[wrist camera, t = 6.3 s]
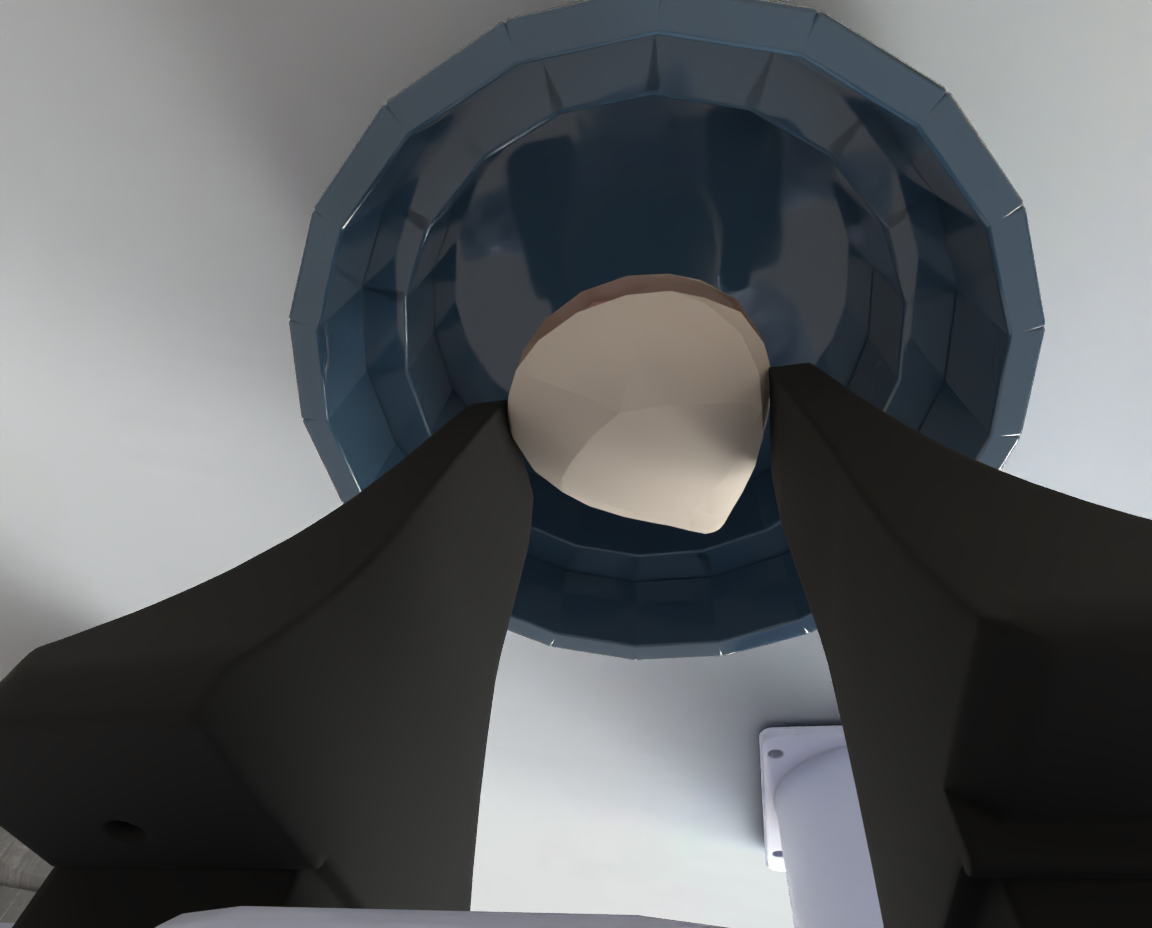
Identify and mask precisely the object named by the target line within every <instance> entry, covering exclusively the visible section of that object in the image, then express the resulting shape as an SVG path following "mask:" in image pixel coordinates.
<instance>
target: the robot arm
mask: <svg viewBox="0 0 1152 928" xmlns="http://www.w3.org/2000/svg"><path fill="white" fill-rule="evenodd" d="M769 383H770V392H769V402H770V441H771V475H772V480H773V485H774V490H775V496H776V501H777V506H778V511H779V515H780V520H781V525H782V528H783V531H784V534H785V537H786V540H787V543H788V546H789V549H790V552H791V555H792V557H793V560H794V563H795V566H796V569H797V572H798V575H799V578H800V581H801V583H802V586H803V589H804V592H805V595H806V598H807V601H808V604H809V606H810V609H811V612H812V615H813V618H814V621H815V624H816V627H817V629H818V632H819V635H820V638H821V642H822V645H823V648H824V652H825V655H826V659H827V662H828V666H829V670H830V674H831V678H832V683H833V687H834V692H835V696H836V700H837V705H838V709H839V713H840V718H841V722H842V725H834V726H798V727H771V728H767V729H764V730H763V731H762V732H761V733H760V735H759V747H760V766H761V785H762V804H763V823H764V842H765V858H766V865H767V867H768V868H770V869H771V870H774V871H786V876H787V883H788V889H789V895H790V902H791V908H792V914H793V920H794V927H795V928H1152V520H1150V519H1146V518H1142V517H1138V516H1134V515H1131V514H1128V513H1124V512H1121V511H1117V510H1114V509H1110V508H1107V507H1104V506H1100V505H1097V504H1093V503H1090V502H1087V501H1084V500H1081V499H1078V498H1075V497H1072V496H1069V495H1066V494H1063V493H1060V492H1057V491H1054V490H1051V489H1048V488H1046V487H1043V486H1040V485H1037V484H1034V483H1031V482H1028V481H1026V480H1023V479H1021V478H1018V477H1015V476H1013V475H1010V474H1007V473H1005V472H1002V471H1000V470H998V469H996V468H993V467H991V466H989V465H986V464H984V463H982V462H979V461H977V460H975V459H972V458H970V457H968V456H965V455H963V454H961V453H959V452H957V451H955V450H953V449H950V448H948V447H946V446H944V445H942V444H940V443H938V442H936V441H935V440H933V439H931V438H929V437H927V436H925V435H923V434H922V433H920V432H918V431H916V430H914V429H912V428H910V427H909V426H907V425H905V424H903V423H902V422H900V421H898V420H897V419H895V418H893V417H891V416H890V415H888V414H887V413H885V412H883V411H882V410H880V409H878V408H877V407H875V406H874V405H872V404H871V403H869V402H867V401H866V400H864V399H863V398H861V397H860V396H858V395H857V394H855V393H854V392H852V391H851V390H849V389H848V388H847V387H845V386H844V385H842V384H841V383H839V382H838V381H836V380H835V379H834V378H832V377H831V376H829V375H828V374H826V373H825V372H823V371H822V370H821V369H819V368H818V367H816V366H814V365H813V364H811V363H801V364H793V365H785V366H777V367H769ZM507 414H508V402H507V400H501V401H492V402H484V403H476V404H472V405H470V406H469V407H467V408H465V409H464V410H463V411H461V412H460V413H459V414H457V415H456V416H455V417H453V418H452V419H451V420H450V421H448V422H447V423H446V424H445V425H444V426H442V427H441V428H440V429H439V430H438V431H436V432H435V433H434V434H433V435H432V436H430V437H429V438H428V439H427V440H426V441H424V442H423V443H422V444H421V445H420V446H418V447H417V448H416V449H415V450H414V451H412V452H411V453H410V454H409V455H408V456H406V457H405V458H404V459H403V460H402V461H400V462H399V463H398V464H397V465H395V466H394V467H393V468H391V469H390V470H389V471H387V472H386V473H385V474H383V475H382V476H381V477H380V478H378V479H377V480H376V481H374V482H373V483H372V484H370V485H369V486H368V487H366V488H365V489H364V490H362V491H361V492H360V493H359V494H357V495H356V496H355V497H353V498H352V499H350V500H349V501H347V502H346V503H345V504H343V505H342V506H340V507H339V508H337V509H336V510H334V511H333V512H331V513H330V514H328V515H327V516H325V517H323V518H322V519H320V520H319V521H317V522H315V523H314V524H312V525H311V526H309V527H307V528H306V529H304V530H303V531H301V532H299V533H298V534H296V535H294V536H293V537H291V538H289V539H287V540H285V541H284V542H282V543H280V544H278V545H276V546H274V547H272V548H270V549H269V550H267V551H265V552H263V553H261V554H259V555H257V556H255V557H254V558H252V559H250V560H248V561H246V562H244V563H242V564H241V565H239V566H237V567H235V568H233V569H231V570H229V571H227V572H225V573H223V574H221V575H219V576H216V577H214V578H212V579H210V580H208V581H206V582H204V583H201V584H199V585H197V586H195V587H193V588H191V589H188V590H186V591H184V592H181V593H179V594H177V595H174V596H172V597H170V598H168V599H165V600H163V601H161V602H158V603H156V604H153V605H151V606H149V607H146V608H144V609H141V610H139V611H136V612H134V613H131V614H129V615H126V616H123V617H120V618H118V619H115V620H112V621H110V622H107V623H104V624H102V625H99V626H96V627H93V628H91V629H88V630H85V631H83V632H80V633H77V634H75V635H72V636H69V637H66V638H64V639H61V640H58V641H55V642H52V643H49V644H46V645H44V646H41V647H38V648H36V649H35V650H33V651H32V652H31V653H29V654H28V655H27V656H26V657H25V658H24V659H23V660H22V661H21V662H20V663H19V664H18V665H17V666H16V667H15V668H14V669H13V670H12V671H11V672H10V673H9V674H8V675H7V676H6V677H5V678H4V679H3V680H2V681H1V682H0V826H1V827H2V828H3V829H5V830H6V831H7V832H8V833H10V834H11V835H12V836H14V837H15V838H16V839H17V840H19V841H20V842H21V843H23V844H24V845H25V846H27V847H28V848H29V849H30V850H32V851H33V852H34V853H36V854H37V855H38V856H39V857H41V858H42V859H43V860H45V861H46V862H47V863H48V864H50V865H51V866H54V868H53V869H52V871H51V872H50V873H49V875H48V876H47V878H46V879H45V881H44V882H43V884H42V885H41V886H40V888H39V889H38V891H37V892H36V894H35V895H34V896H33V898H32V899H31V901H30V902H29V904H28V905H27V907H26V908H25V909H24V911H23V912H22V914H21V915H20V917H19V918H18V919H17V921H16V922H15V923H0V928H727V927H719V926H712V925H705V924H698V923H690V922H683V921H676V920H668V919H661V918H654V917H646V916H639V915H608V914H565V913H522V912H479V911H470V905H471V891H472V877H473V865H474V855H475V844H476V834H477V824H478V813H479V803H480V793H481V785H482V777H483V768H484V760H485V752H486V743H487V735H488V728H489V721H490V714H491V707H492V700H493V693H494V686H495V680H496V675H497V670H498V665H499V660H500V656H501V651H502V648H503V644H504V640H505V636H506V632H507V628H508V625H509V621H510V617H511V613H512V609H513V605H514V602H515V598H516V594H517V590H518V586H519V582H520V578H521V574H522V571H523V567H524V563H525V559H526V554H527V550H528V546H529V539H530V530H531V521H532V510H533V499H534V496H533V492H532V488H531V485H530V481H529V478H528V474H527V470H526V467H525V463H524V460H523V456H522V452H521V450H520V448H519V447H518V445H517V444H516V442H515V440H514V439H513V437H512V434H511V432H510V427H509V421H508V415H507Z"/></svg>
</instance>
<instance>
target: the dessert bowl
mask: <svg viewBox="0 0 1152 928" xmlns="http://www.w3.org/2000/svg"><path fill="white" fill-rule="evenodd" d="M652 274H673V275H678V276H683V277H688V278H693V279H698V280H702V281H704V282H706V283H708V284H709V285H711V286H713V287H715V288H717V289H718V290H720V291H722V292H724V293H726V294H728V295H729V296H731V297H733V298H735V299H737V300H738V302H739V303H740V305H741V306H742V308H743V309H744V311H745V312H746V314H747V315H748V316H749V318H750V319H751V321H752V322H753V324H754V325H755V327H756V328H757V330H758V331H759V332H760V334H761V337H762V340H763V343H764V345H765V349H766V352H767V356H768V360H769V363H770V367H777V366H785V365H793V364H801V363H811V364H813V365H814V366H816V367H818V368H819V369H821V370H822V371H823V372H825V373H826V374H828V375H829V376H831V377H832V378H834V379H835V380H836V381H838V382H839V383H841V384H842V385H844V386H845V387H847V388H848V389H849V390H851V391H852V392H854V393H855V394H857V395H858V396H860V397H861V398H863V399H864V400H866V401H867V402H869V403H871V404H872V405H874V406H875V407H877V408H878V409H880V410H882V411H883V412H885V413H887V414H888V415H890V416H891V417H893V418H895V419H897V420H898V421H900V422H902V423H903V424H905V425H907V426H909V427H910V428H912V429H914V430H916V431H918V432H920V433H922V434H923V435H925V436H927V437H929V438H931V439H933V440H935V441H936V442H938V443H940V444H942V445H944V446H946V447H948V448H950V449H953V450H955V451H957V452H959V453H961V454H963V455H965V456H968V457H970V458H972V459H975V460H977V461H979V462H982V463H984V464H986V465H989V466H991V467H993V468H996V469H998V470H1000V469H1001V468H1002V466H1003V464H1004V463H1005V461H1006V459H1007V458H1008V456H1009V455H1010V453H1011V451H1012V450H1013V448H1014V447H1015V445H1016V443H1017V442H1018V440H1019V437H1020V436H1019V435H1021V433H1022V430H1023V425H1024V421H1025V416H1026V412H1027V407H1028V403H1029V398H1030V394H1031V389H1032V385H1033V380H1034V376H1035V371H1036V367H1037V362H1038V358H1039V353H1040V349H1041V344H1042V340H1043V336H1044V331H1045V329H1044V325H1045V319H1044V313H1043V307H1042V302H1041V296H1040V290H1039V284H1038V278H1037V272H1036V266H1035V261H1034V255H1033V249H1032V243H1031V237H1030V231H1029V225H1028V220H1027V214H1026V208H1025V207H1024V206H1023V201H1022V199H1021V197H1020V196H1019V194H1018V193H1017V191H1016V190H1015V188H1014V187H1013V185H1012V184H1011V182H1010V181H1009V179H1008V178H1007V176H1006V175H1005V173H1004V172H1003V170H1002V169H1001V167H1000V166H999V164H998V163H997V161H996V160H995V158H994V157H993V155H992V154H991V152H990V151H989V149H988V148H987V146H986V145H985V143H984V142H983V140H982V139H981V137H980V136H979V135H978V133H977V132H976V130H975V129H974V127H973V126H972V124H971V123H970V121H969V120H968V118H967V117H966V115H965V114H964V112H963V111H962V109H961V108H960V106H959V105H958V103H957V102H956V100H955V99H954V97H953V96H952V94H951V93H949V92H946V89H945V87H944V86H942V85H940V84H939V83H937V82H936V81H934V80H932V79H931V78H929V77H928V76H926V75H924V74H923V73H921V72H920V71H918V70H916V69H915V68H913V67H912V66H910V65H908V64H907V63H905V62H904V61H902V60H900V59H899V58H897V57H896V56H894V55H892V54H891V53H889V52H888V51H886V50H884V49H883V48H881V47H880V46H878V45H876V44H875V43H873V42H872V41H870V40H868V39H867V38H865V37H864V36H862V35H860V34H859V33H857V32H856V31H854V30H852V29H851V28H849V27H848V26H846V25H844V24H843V23H841V22H840V21H838V20H836V19H835V18H833V17H832V16H830V15H828V14H827V13H825V12H824V11H817V10H816V9H815V8H812V7H806V6H800V5H793V4H787V3H781V2H774V1H768V0H585V1H581V2H577V3H572V4H568V5H564V6H559V7H555V8H551V9H546V10H542V11H538V12H534V13H529V14H525V15H521V16H516V17H512V18H508V19H507V20H506V22H500V23H498V24H497V25H495V26H494V27H492V28H491V29H489V30H488V31H486V32H485V33H484V34H482V35H481V36H479V37H478V38H476V39H475V40H473V41H472V42H471V43H469V44H468V45H466V46H465V47H463V48H462V49H460V50H459V51H458V52H456V53H455V54H453V55H452V56H450V57H449V58H447V59H446V60H445V61H443V62H442V63H440V64H439V65H437V66H436V67H434V68H433V69H432V70H430V71H429V72H427V73H426V74H424V75H423V76H421V77H420V78H419V79H417V80H416V81H414V82H413V83H411V84H410V85H408V86H407V87H406V88H404V89H403V90H401V91H400V92H398V93H397V94H395V95H394V96H393V97H391V98H390V99H388V100H387V102H386V104H385V105H383V106H381V108H380V109H379V111H378V112H377V114H376V115H375V117H374V118H373V120H372V121H371V123H370V124H369V126H368V127H367V129H366V130H365V132H364V133H363V135H362V136H361V138H360V139H359V141H358V142H357V144H356V145H355V147H354V148H353V150H352V151H351V153H350V154H349V156H348V157H347V159H346V160H345V162H344V163H343V165H342V166H341V168H340V169H339V171H338V172H337V174H336V175H335V177H334V178H333V180H332V181H331V183H330V184H329V186H328V187H327V189H326V190H325V192H324V193H323V195H322V196H321V198H320V199H319V201H318V202H317V204H316V205H315V210H314V211H313V212H312V215H311V220H310V224H309V229H308V233H307V238H306V243H305V247H304V252H303V256H302V261H301V265H300V270H299V274H298V279H297V283H296V288H295V292H294V297H293V301H292V306H291V310H290V315H289V318H290V321H289V325H290V333H291V340H292V348H293V355H294V363H295V370H296V378H297V385H298V393H299V400H300V408H301V415H302V418H304V419H303V422H304V424H305V426H306V428H307V431H308V433H309V435H310V437H311V439H312V441H313V443H314V445H315V447H316V449H317V451H318V453H319V455H320V457H321V460H322V462H323V464H324V466H325V468H326V470H327V472H328V474H329V476H330V478H331V480H332V482H333V484H334V487H335V489H336V491H337V493H338V495H339V497H340V499H341V501H343V502H344V504H345V503H346V502H347V501H349V500H350V499H352V498H353V497H355V496H356V495H357V494H359V493H360V492H361V491H362V490H364V489H365V488H366V487H368V486H369V485H370V484H372V483H373V482H374V481H376V480H377V479H378V478H380V477H381V476H382V475H383V474H385V473H386V472H387V471H389V470H390V469H391V468H393V467H394V466H395V465H397V464H398V463H399V462H400V461H402V460H403V459H404V458H405V457H406V456H408V455H409V454H410V453H411V452H412V451H414V450H415V449H416V448H417V447H418V446H420V445H421V444H422V443H423V442H424V441H426V440H427V439H428V438H429V437H430V436H432V435H433V434H434V433H435V432H436V431H438V430H439V429H440V428H441V427H442V426H444V425H445V424H446V423H447V422H448V421H450V420H451V419H452V418H453V417H455V416H456V415H457V414H459V413H460V412H461V411H463V410H464V409H465V408H467V407H469V406H470V405H472V404H476V403H484V402H492V401H501V400H507V402H508V397H509V392H510V389H511V385H512V382H513V379H514V375H515V372H516V369H517V368H518V366H519V363H520V359H521V356H522V353H523V350H524V348H525V347H526V345H527V344H528V342H529V341H530V340H531V338H532V337H533V335H534V334H535V333H536V331H537V330H538V329H539V327H540V326H541V324H542V323H543V322H544V320H545V319H546V318H548V317H549V316H550V315H552V314H553V313H554V312H555V311H557V310H558V309H559V308H561V307H562V306H563V305H565V304H566V303H567V302H569V301H570V300H571V299H573V298H574V297H575V296H577V295H578V294H579V293H581V292H582V291H585V290H588V289H591V288H594V287H596V286H599V285H602V284H605V283H608V282H611V281H614V280H616V279H619V278H622V277H625V276H632V275H652ZM521 452H522V451H521ZM522 456H523V460H524V463H525V467H526V470H527V474H528V478H529V481H530V485H531V488H532V492H533V496H534V499H533V510H532V521H531V530H530V539H529V546H528V550H527V554H526V559H525V563H524V567H523V571H522V574H521V578H520V582H519V586H518V590H517V594H516V598H515V602H514V605H513V609H512V613H511V617H510V621H509V625H508V628H507V630H509V631H511V632H514V633H517V634H519V635H522V636H524V637H527V638H530V639H532V640H535V641H537V642H540V643H542V644H545V645H548V646H551V645H552V647H555V648H561V649H568V650H574V651H580V652H587V653H593V654H599V655H605V656H612V657H618V658H624V659H630V660H634V659H635V658H636V660H652V659H673V658H694V657H716V656H721V655H729V654H733V653H736V652H740V651H744V650H748V649H752V648H756V647H759V646H763V645H767V644H771V643H775V642H778V641H782V640H786V639H790V638H794V637H798V636H801V635H805V634H807V633H808V632H813V631H815V630H817V627H816V624H815V621H814V618H813V615H812V612H811V609H810V606H809V604H808V601H807V598H806V595H805V592H804V589H803V586H802V583H801V581H800V578H799V575H798V572H797V569H796V566H795V563H794V560H793V557H792V555H791V552H790V549H789V546H788V543H787V540H786V537H785V534H784V531H783V528H782V525H781V520H780V515H779V511H778V506H777V501H776V496H775V490H774V485H773V480H772V475H771V441H770V406H769V412H768V418H767V422H766V425H765V429H764V432H763V439H762V443H761V446H760V450H759V453H758V457H757V461H756V464H755V467H754V469H753V472H752V474H751V476H750V478H749V480H748V482H747V484H746V486H745V488H744V490H743V492H742V494H741V496H740V497H739V499H738V501H737V502H736V504H735V506H734V507H733V509H732V511H731V513H730V514H729V516H728V518H727V520H726V521H725V523H724V524H723V525H722V527H721V528H720V529H719V530H717V531H715V532H711V533H707V534H704V533H699V532H694V531H689V530H685V529H681V528H677V527H673V526H669V525H662V524H656V523H652V522H647V521H642V520H637V519H632V518H627V517H623V516H620V515H617V514H613V513H610V512H607V511H604V510H600V509H597V508H594V507H590V506H588V505H586V504H584V503H582V502H580V501H578V500H577V499H575V498H573V497H571V496H569V495H567V494H565V493H563V492H562V491H560V490H559V489H558V488H556V487H555V486H554V485H552V484H551V483H550V482H549V481H547V480H546V479H545V478H543V477H542V476H541V475H539V474H538V473H537V472H535V471H534V469H533V468H532V466H531V465H530V463H529V462H528V460H527V459H526V457H525V456H524V454H523V453H522Z"/></svg>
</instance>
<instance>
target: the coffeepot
mask: <svg viewBox="0 0 1152 928" xmlns="http://www.w3.org/2000/svg"><path fill="white" fill-rule="evenodd" d="M53 868H54V866H51V865H50V864H48V863H47V862H46V861H45V860H43V859H42V858H41V857H39V856H38V855H37V854H36V853H34V852H33V851H32V850H30V849H29V848H28V847H27V846H25V845H24V844H23V843H21V842H20V841H19V840H17V839H16V838H15V837H14V836H12V835H11V834H10V833H8V832H7V831H6V830H5V829H3V828H2V827H1V826H0V923H15V922H16V921H17V919H18V918H19V917H20V915H21V914H22V912H23V911H24V909H25V908H26V907H27V905H28V904H29V902H30V901H31V899H32V898H33V896H34V895H35V894H36V892H37V891H38V889H39V888H40V886H41V885H42V884H43V882H44V881H45V879H46V878H47V876H48V875H49V873H50V872H51V871H52V869H53Z"/></svg>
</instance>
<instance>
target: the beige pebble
mask: <svg viewBox="0 0 1152 928" xmlns="http://www.w3.org/2000/svg"><path fill="white" fill-rule="evenodd" d="M769 367H770V363H769V360H768V356H767V352H766V349H765V345H764V343H763V340H762V337H761V334H760V332H759V331H758V330H757V328H756V327H755V325H754V324H753V322H752V321H751V319H750V318H749V316H748V315H747V314H746V312H745V311H744V309H743V308H742V306H741V305H740V303H739V302H738V300H737V299H735V298H733V297H731V296H729V295H728V294H726V293H724V292H722V291H720V290H718V289H717V288H715V287H713V286H711V285H709V284H708V283H706V282H704V281H702V280H698V279H693V278H688V277H683V276H678V275H673V274H652V275H632V276H625V277H622V278H619V279H616V280H614V281H611V282H608V283H605V284H602V285H599V286H596V287H594V288H591V289H588V290H585V291H582V292H581V293H579V294H578V295H577V296H575V297H574V298H573V299H571V300H570V301H569V302H567V303H566V304H565V305H563V306H562V307H561V308H559V309H558V310H557V311H555V312H554V313H553V314H552V315H550V316H549V317H548V318H546V319H545V320H544V322H543V323H542V324H541V326H540V327H539V329H538V330H537V331H536V333H535V334H534V335H533V337H532V338H531V340H530V341H529V342H528V344H527V345H526V347H525V348H524V350H523V353H522V356H521V359H520V363H519V366H518V368H517V369H516V372H515V375H514V379H513V382H512V385H511V389H510V392H509V397H508V414H507V415H508V421H509V427H510V432H511V434H512V437H513V439H514V440H515V442H516V444H517V445H518V447H519V448H520V450H521V451H522V453H523V454H524V456H525V457H526V459H527V460H528V462H529V463H530V465H531V466H532V468H533V469H534V471H535V472H537V473H538V474H539V475H541V476H542V477H543V478H545V479H546V480H547V481H549V482H550V483H551V484H552V485H554V486H555V487H556V488H558V489H559V490H560V491H562V492H563V493H565V494H567V495H569V496H571V497H573V498H575V499H577V500H578V501H580V502H582V503H584V504H586V505H588V506H590V507H594V508H597V509H600V510H604V511H607V512H610V513H613V514H617V515H620V516H623V517H627V518H632V519H637V520H642V521H647V522H652V523H656V524H662V525H669V526H673V527H677V528H681V529H685V530H689V531H694V532H699V533H704V534H707V533H711V532H715V531H717V530H719V529H720V528H721V527H722V525H723V524H724V523H725V521H726V520H727V518H728V516H729V514H730V513H731V511H732V509H733V507H734V506H735V504H736V502H737V501H738V499H739V497H740V496H741V494H742V492H743V490H744V488H745V486H746V484H747V482H748V480H749V478H750V476H751V474H752V472H753V469H754V467H755V464H756V461H757V457H758V453H759V450H760V446H761V443H762V439H763V432H764V429H765V425H766V422H767V418H768V412H769V406H770V402H769V392H770V383H769Z"/></svg>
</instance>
